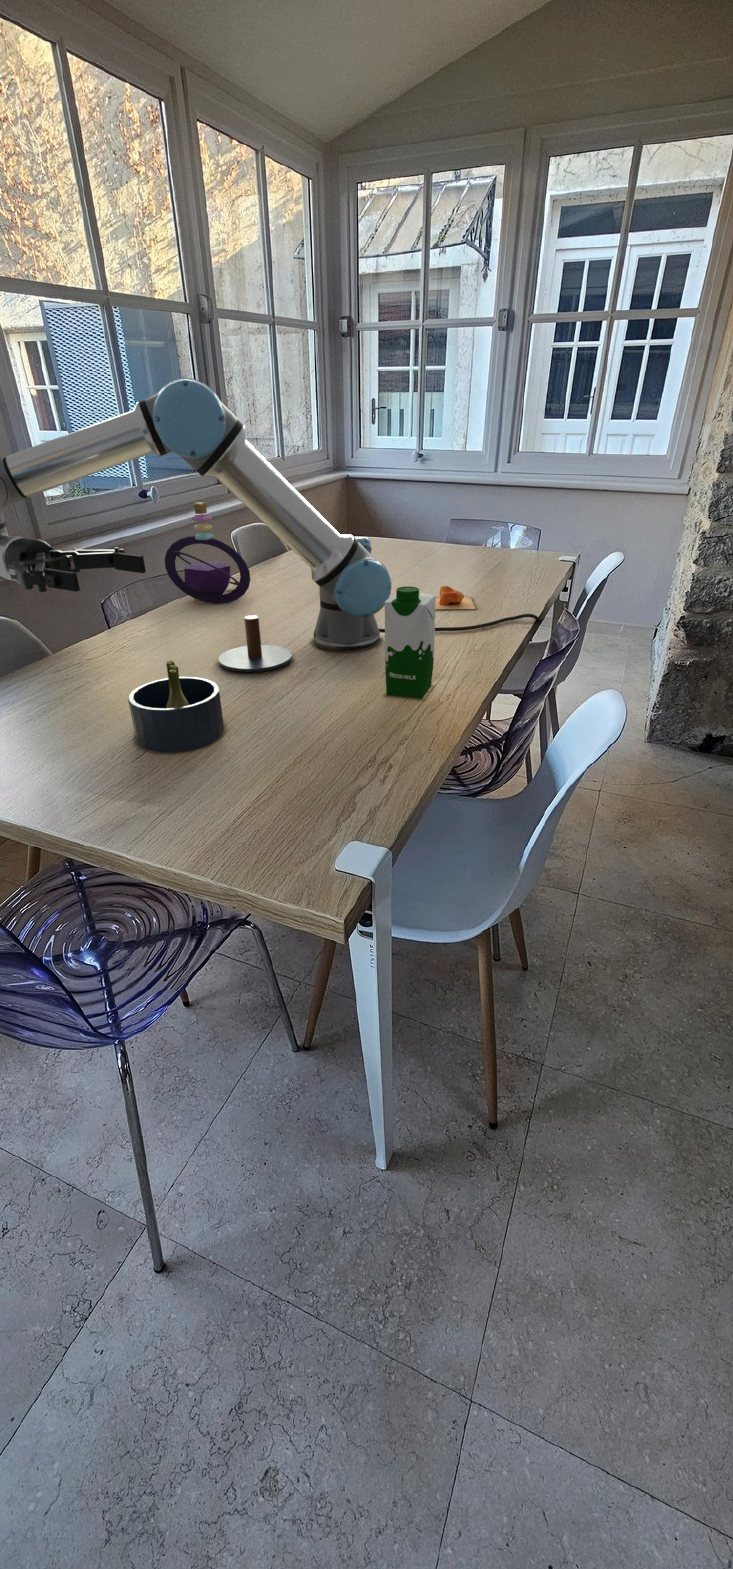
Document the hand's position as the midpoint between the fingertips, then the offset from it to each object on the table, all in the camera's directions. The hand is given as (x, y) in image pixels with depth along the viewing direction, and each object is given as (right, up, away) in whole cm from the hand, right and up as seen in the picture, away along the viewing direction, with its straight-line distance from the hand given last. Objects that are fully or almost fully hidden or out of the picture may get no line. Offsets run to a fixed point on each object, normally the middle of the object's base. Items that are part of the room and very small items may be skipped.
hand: (111, 573), depth 111 cm
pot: (+9, -25, +8) cm, 28 cm away
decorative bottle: (-4, +20, +88) cm, 90 cm away
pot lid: (+17, -7, +39) cm, 43 cm away
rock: (+63, +15, +77) cm, 101 cm away
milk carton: (+49, -16, +24) cm, 57 cm away
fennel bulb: (+9, -25, +8) cm, 27 cm away
